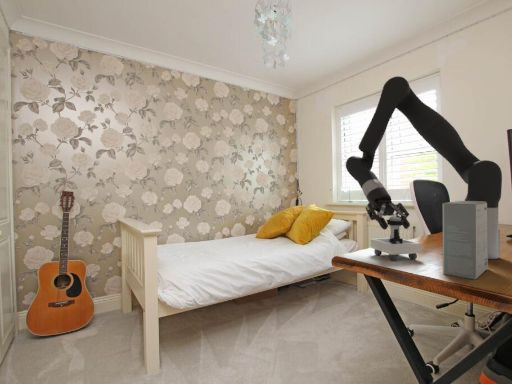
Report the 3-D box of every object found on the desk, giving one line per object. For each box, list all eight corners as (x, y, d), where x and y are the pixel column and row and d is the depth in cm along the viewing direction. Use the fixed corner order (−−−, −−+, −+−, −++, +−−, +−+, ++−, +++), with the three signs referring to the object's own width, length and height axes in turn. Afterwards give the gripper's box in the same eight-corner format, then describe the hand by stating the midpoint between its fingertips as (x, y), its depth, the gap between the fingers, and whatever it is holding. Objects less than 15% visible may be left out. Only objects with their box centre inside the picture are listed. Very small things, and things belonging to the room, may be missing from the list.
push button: (394, 248, 93) (394, 218, 93) (380, 245, 98) (380, 217, 97) (406, 246, 96) (407, 217, 96) (393, 244, 101) (393, 216, 100)
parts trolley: (397, 252, 103) (397, 237, 103) (420, 260, 92) (421, 243, 92) (370, 254, 100) (370, 238, 100) (391, 262, 90) (392, 244, 89)
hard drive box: (456, 263, 88) (457, 200, 87) (488, 269, 82) (488, 201, 82) (441, 273, 77) (442, 202, 77) (476, 280, 72) (476, 203, 71)
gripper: (363, 186, 102) (384, 221, 91) (397, 186, 105) (421, 220, 94) (355, 200, 107) (373, 235, 96) (387, 200, 110) (409, 233, 99)
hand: (397, 227), depth 95 cm, fingers open, 8 cm apart
